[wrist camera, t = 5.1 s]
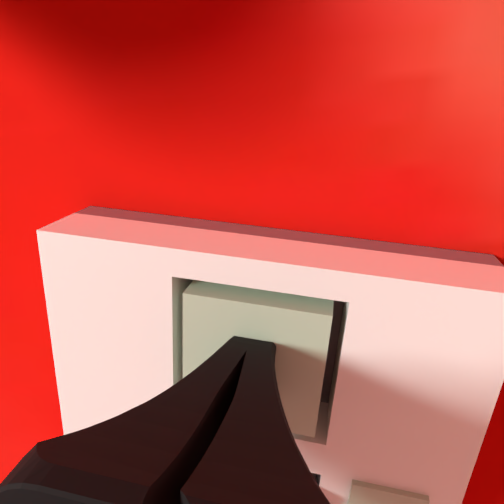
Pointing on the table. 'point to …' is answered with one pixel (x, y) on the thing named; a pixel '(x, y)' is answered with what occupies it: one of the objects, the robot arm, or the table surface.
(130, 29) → the table surface
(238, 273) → the keyguard panel
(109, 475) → the robot arm
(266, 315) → the key sage
